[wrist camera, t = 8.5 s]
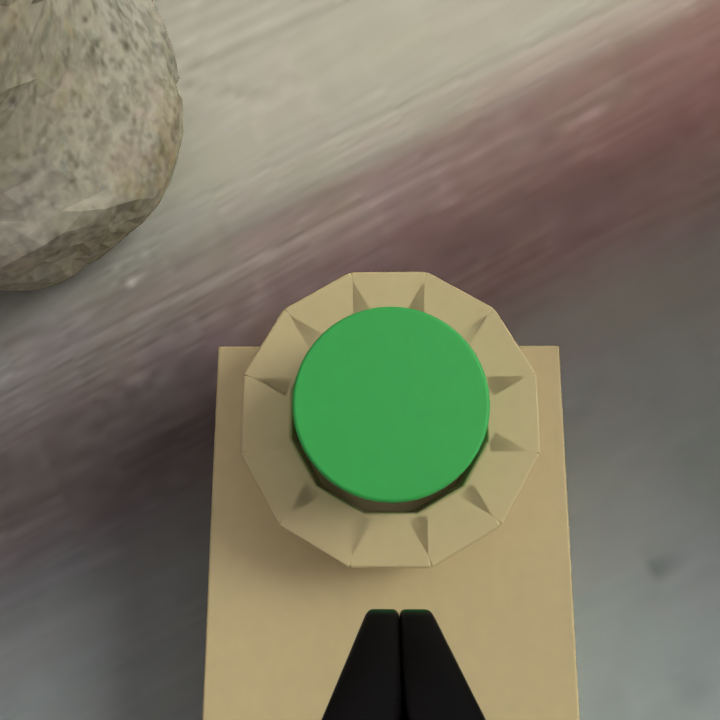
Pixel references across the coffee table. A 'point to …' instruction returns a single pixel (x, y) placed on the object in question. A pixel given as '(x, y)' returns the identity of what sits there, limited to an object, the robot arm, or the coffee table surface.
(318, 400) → the light button
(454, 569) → the switch box
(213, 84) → the coffee table surface
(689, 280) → the coffee table surface
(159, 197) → the stone
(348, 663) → the robot arm
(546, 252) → the coffee table surface
